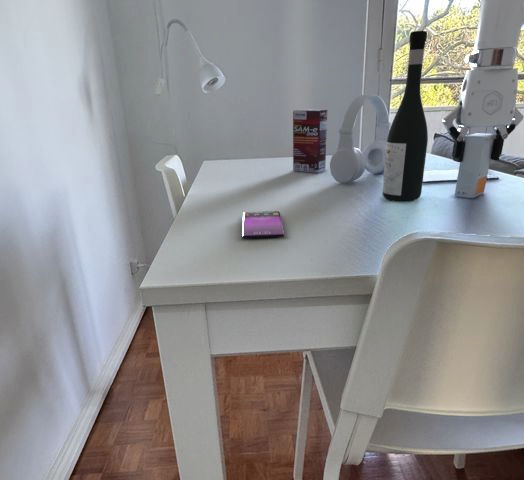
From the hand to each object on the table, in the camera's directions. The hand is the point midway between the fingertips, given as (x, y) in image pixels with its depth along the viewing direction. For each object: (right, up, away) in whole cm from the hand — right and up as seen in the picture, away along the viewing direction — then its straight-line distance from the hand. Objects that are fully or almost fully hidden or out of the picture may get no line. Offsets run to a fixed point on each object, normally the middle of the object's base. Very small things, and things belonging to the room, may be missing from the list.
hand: (475, 159), depth 98 cm
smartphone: (-45, -17, -13) cm, 50 cm away
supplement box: (-31, +12, +38) cm, 51 cm away
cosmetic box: (0, -6, +4) cm, 7 cm away
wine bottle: (-15, -7, +3) cm, 17 cm away
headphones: (-18, +5, +26) cm, 32 cm away
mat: (+2, +5, +23) cm, 23 cm away
